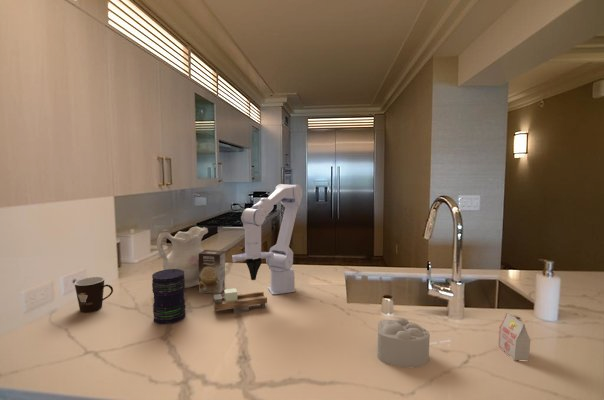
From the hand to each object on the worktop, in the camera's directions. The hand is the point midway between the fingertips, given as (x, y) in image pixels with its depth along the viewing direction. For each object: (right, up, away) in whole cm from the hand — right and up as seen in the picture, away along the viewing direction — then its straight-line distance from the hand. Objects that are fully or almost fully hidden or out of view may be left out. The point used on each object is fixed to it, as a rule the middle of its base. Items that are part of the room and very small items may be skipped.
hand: (253, 279), depth 112 cm
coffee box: (-19, -9, +15) cm, 26 cm away
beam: (-4, -10, -2) cm, 11 cm away
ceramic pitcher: (-33, -8, +22) cm, 40 cm away
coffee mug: (-55, -10, -4) cm, 56 cm away
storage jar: (-26, -11, -9) cm, 30 cm away
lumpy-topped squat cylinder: (+44, -13, -29) cm, 55 cm away
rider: (-7, -7, -3) cm, 10 cm away
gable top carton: (+75, -14, -27) cm, 81 cm away
